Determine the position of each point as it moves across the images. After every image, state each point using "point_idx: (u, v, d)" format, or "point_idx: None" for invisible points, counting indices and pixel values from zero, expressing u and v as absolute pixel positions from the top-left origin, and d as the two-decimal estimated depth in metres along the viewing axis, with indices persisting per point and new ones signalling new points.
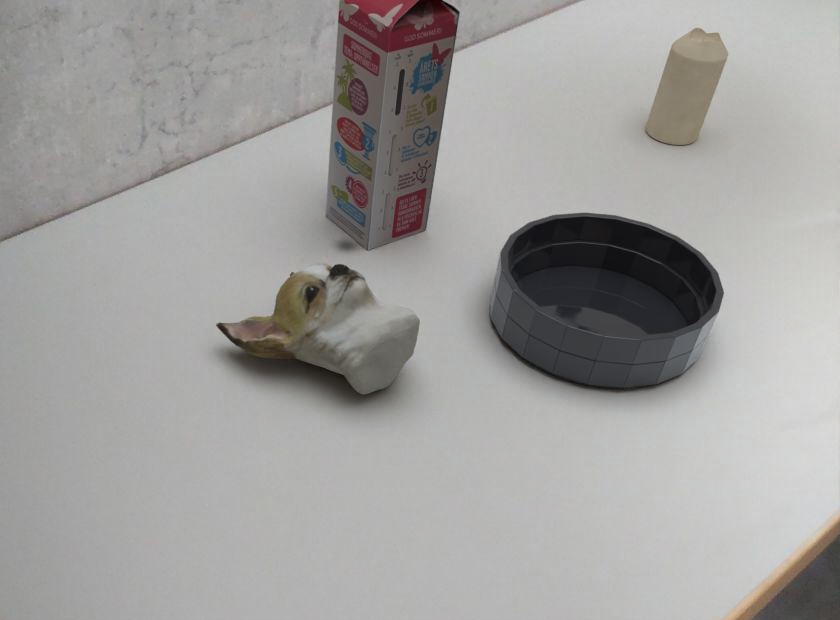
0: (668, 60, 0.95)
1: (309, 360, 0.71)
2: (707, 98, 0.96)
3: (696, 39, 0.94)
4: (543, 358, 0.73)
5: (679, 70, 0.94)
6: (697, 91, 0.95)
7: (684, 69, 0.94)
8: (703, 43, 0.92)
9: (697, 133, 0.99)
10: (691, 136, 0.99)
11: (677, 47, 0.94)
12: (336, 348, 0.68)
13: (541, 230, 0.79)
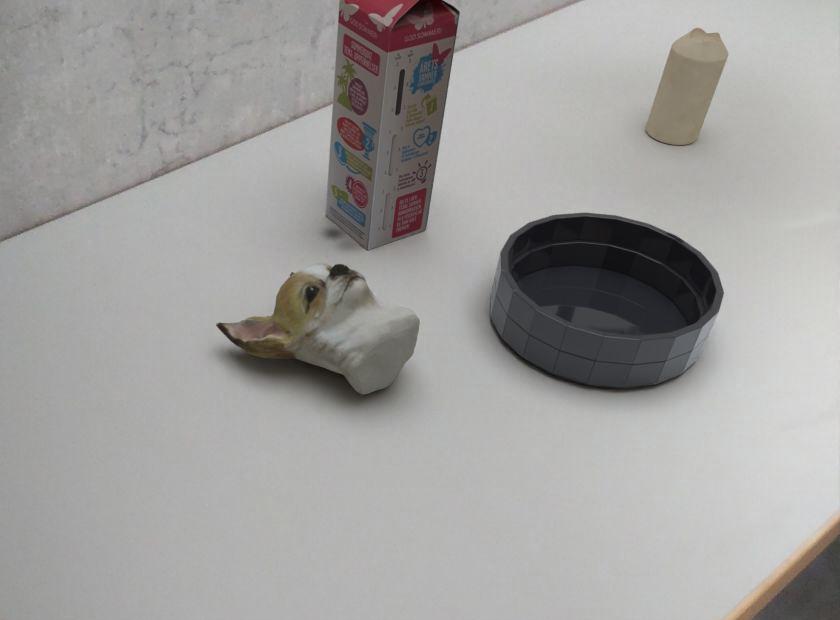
0: (668, 60, 0.95)
1: (309, 360, 0.71)
2: (707, 98, 0.96)
3: (696, 39, 0.94)
4: (543, 358, 0.73)
5: (679, 70, 0.94)
6: (697, 91, 0.95)
7: (684, 69, 0.94)
8: (703, 43, 0.92)
9: (697, 133, 0.99)
10: (691, 136, 0.99)
11: (677, 47, 0.94)
12: (336, 348, 0.68)
13: (541, 230, 0.79)
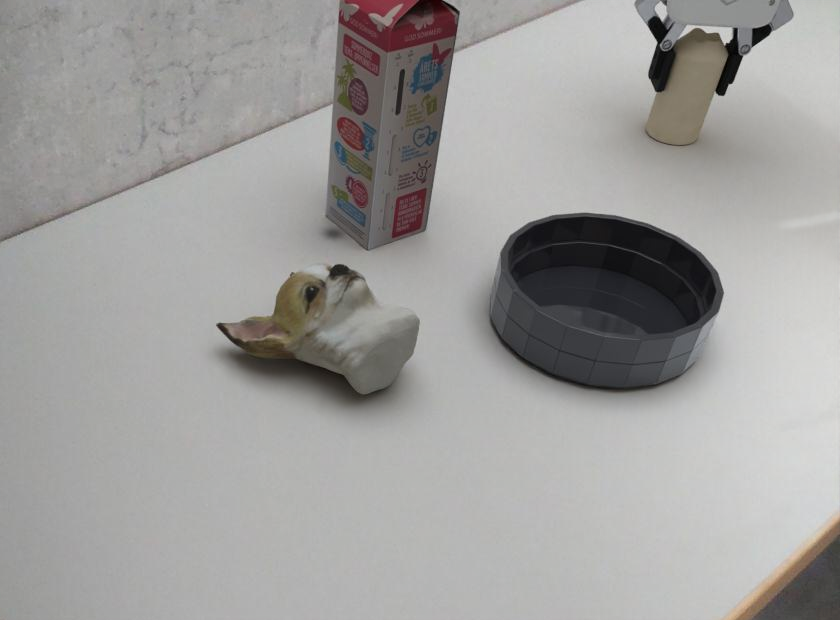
0: None
1: (309, 360, 0.71)
2: (707, 98, 0.96)
3: (696, 39, 0.94)
4: (543, 358, 0.73)
5: (679, 70, 0.94)
6: (697, 91, 0.95)
7: (684, 69, 0.94)
8: (703, 43, 0.92)
9: (697, 133, 0.99)
10: (691, 136, 0.99)
11: (677, 47, 0.94)
12: (336, 348, 0.68)
13: (541, 230, 0.79)
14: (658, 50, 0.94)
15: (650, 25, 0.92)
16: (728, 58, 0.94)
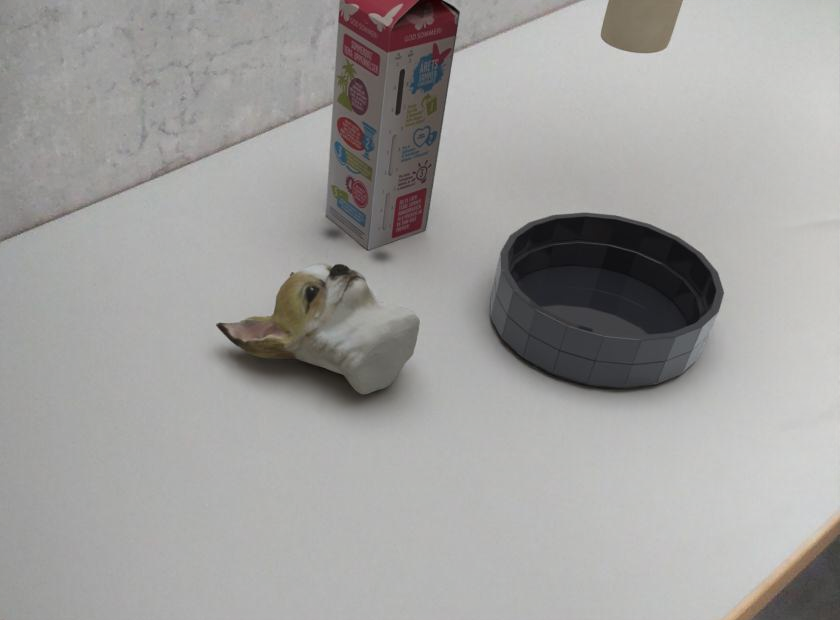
0: None
1: (309, 360, 0.71)
2: None
3: None
4: (543, 358, 0.73)
5: None
6: None
7: None
8: None
9: (667, 37, 0.75)
10: (659, 41, 0.75)
11: None
12: (336, 348, 0.68)
13: (541, 230, 0.79)
14: None
15: None
16: None
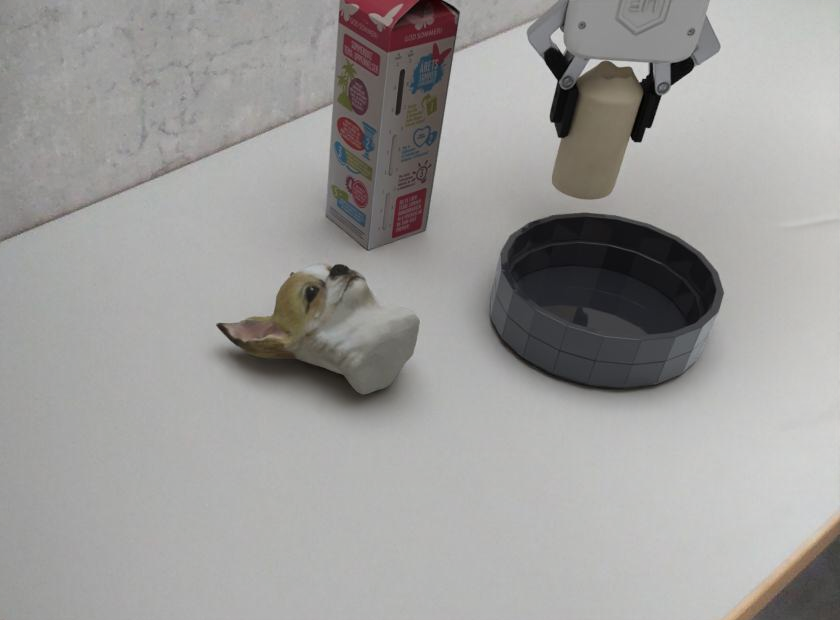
0: None
1: (309, 360, 0.71)
2: (619, 145, 0.79)
3: (604, 74, 0.77)
4: (543, 358, 0.73)
5: (584, 112, 0.77)
6: (607, 137, 0.78)
7: (589, 112, 0.77)
8: (611, 80, 0.76)
9: (611, 186, 0.82)
10: (603, 189, 0.82)
11: (581, 85, 0.77)
12: (336, 348, 0.68)
13: (541, 230, 0.79)
14: (559, 87, 0.78)
15: (546, 58, 0.75)
16: (643, 98, 0.77)
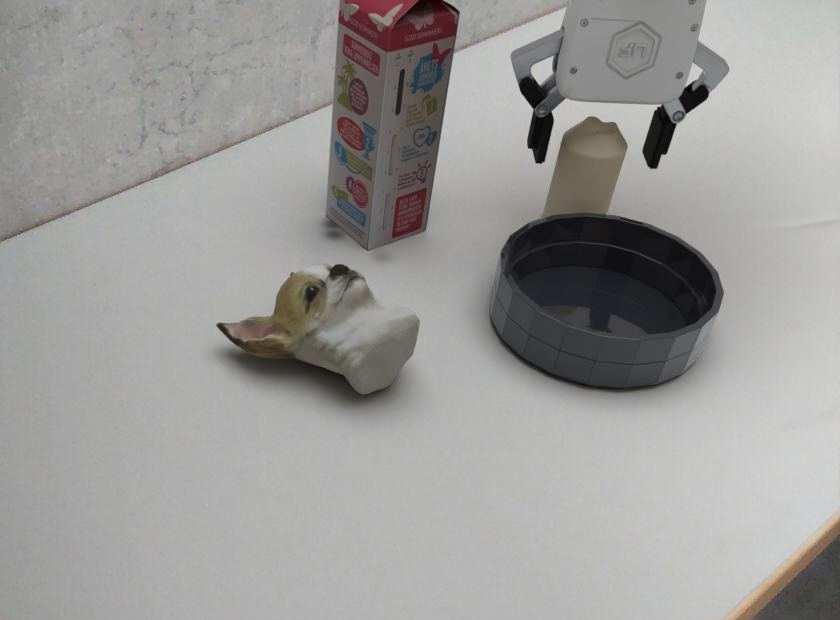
0: (559, 152, 0.82)
1: (309, 360, 0.71)
2: (605, 196, 0.82)
3: (590, 129, 0.81)
4: (543, 358, 0.73)
5: (571, 165, 0.81)
6: (592, 189, 0.81)
7: (575, 165, 0.80)
8: (596, 136, 0.79)
9: None
10: None
11: (567, 139, 0.81)
12: (336, 348, 0.68)
13: (541, 230, 0.79)
14: (535, 115, 0.79)
15: (521, 88, 0.77)
16: (659, 126, 0.79)
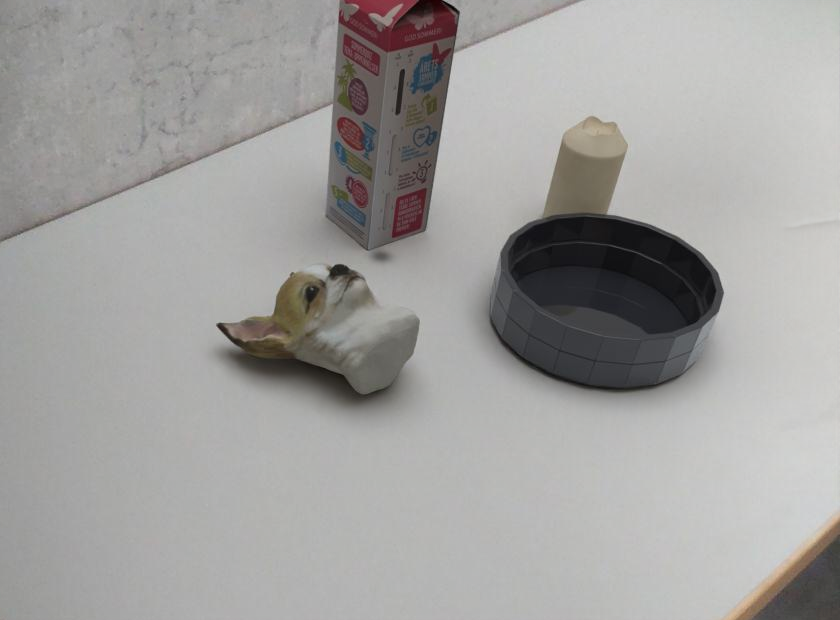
0: (559, 152, 0.82)
1: (309, 360, 0.71)
2: (605, 196, 0.82)
3: (590, 129, 0.81)
4: (543, 358, 0.73)
5: (571, 165, 0.81)
6: (593, 189, 0.81)
7: (576, 165, 0.80)
8: (596, 136, 0.79)
9: None
10: None
11: (568, 139, 0.81)
12: (336, 348, 0.68)
13: (541, 230, 0.79)
14: None
15: None
16: None
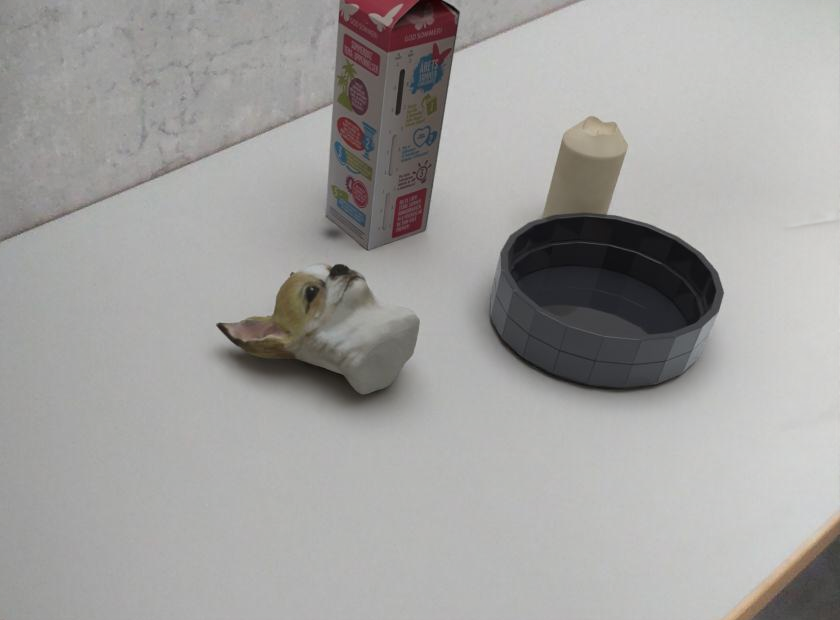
0: (559, 152, 0.82)
1: (309, 360, 0.71)
2: (605, 196, 0.82)
3: (590, 129, 0.81)
4: (543, 358, 0.73)
5: (571, 165, 0.81)
6: (593, 189, 0.81)
7: (576, 165, 0.80)
8: (596, 136, 0.79)
9: None
10: None
11: (568, 139, 0.81)
12: (336, 348, 0.68)
13: (541, 230, 0.79)
14: None
15: None
16: None
